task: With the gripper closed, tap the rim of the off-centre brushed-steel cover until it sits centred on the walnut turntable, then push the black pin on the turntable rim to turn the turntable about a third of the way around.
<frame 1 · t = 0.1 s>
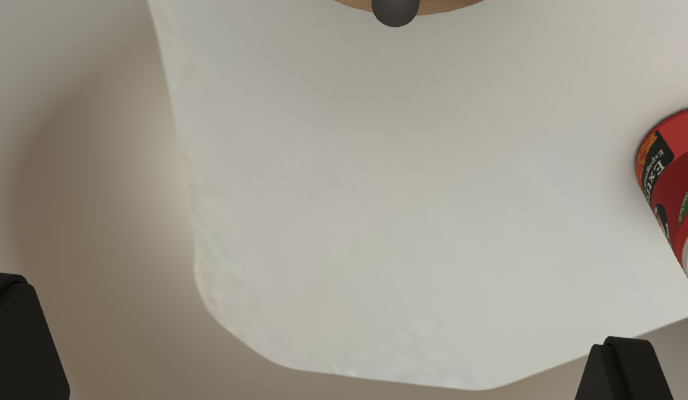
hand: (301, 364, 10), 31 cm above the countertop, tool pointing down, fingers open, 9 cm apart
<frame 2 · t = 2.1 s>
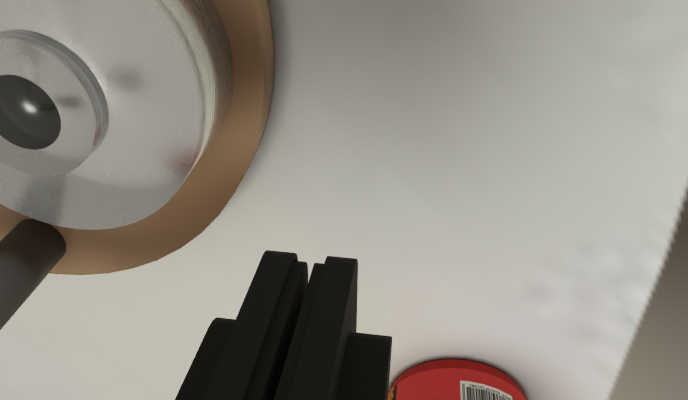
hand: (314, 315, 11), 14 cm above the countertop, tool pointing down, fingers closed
canned food: (455, 399, 34), on the countertop
cover: (101, 55, 22), point 2 cm above the countertop, touching turntable
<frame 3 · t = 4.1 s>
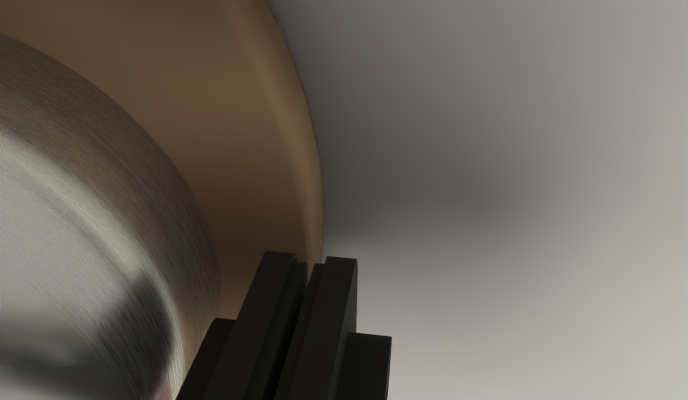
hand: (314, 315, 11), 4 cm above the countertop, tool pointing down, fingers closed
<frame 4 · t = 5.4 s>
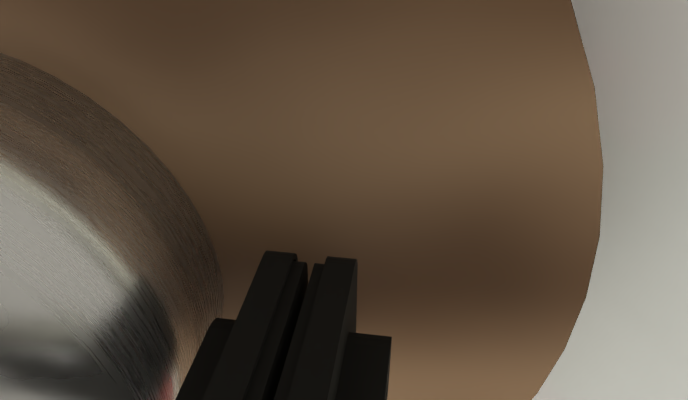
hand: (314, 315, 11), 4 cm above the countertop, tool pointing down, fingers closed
turntable: (5, 286, 11), point 4 cm above the countertop, hinge at -0.6°, touching cover
cover: (3, 258, 13), point 2 cm above the countertop, touching turntable
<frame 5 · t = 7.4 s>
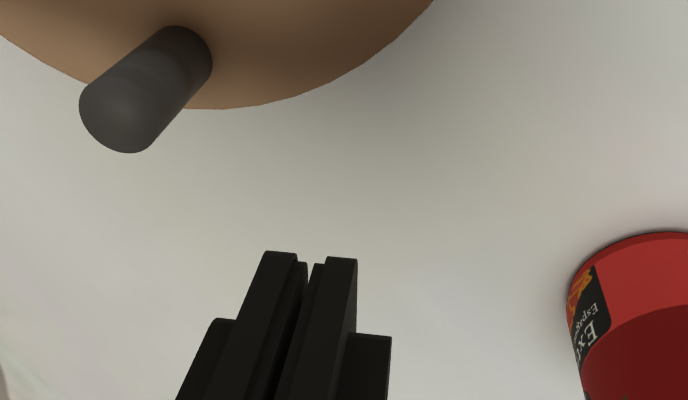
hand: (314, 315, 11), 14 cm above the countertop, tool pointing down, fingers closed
canned food: (652, 290, 28), on the countertop
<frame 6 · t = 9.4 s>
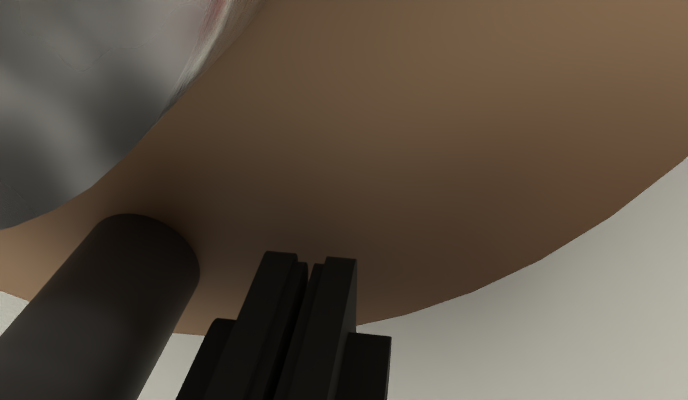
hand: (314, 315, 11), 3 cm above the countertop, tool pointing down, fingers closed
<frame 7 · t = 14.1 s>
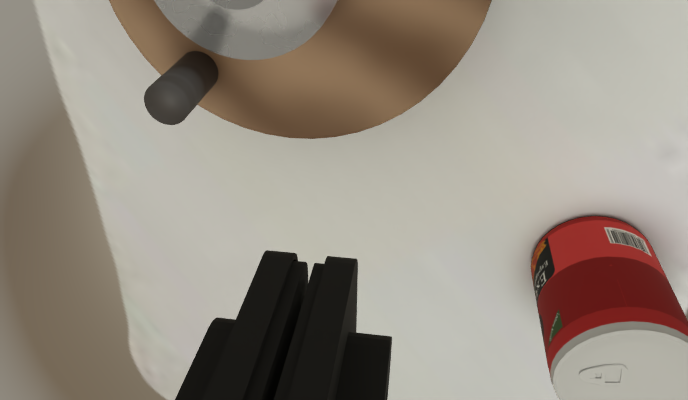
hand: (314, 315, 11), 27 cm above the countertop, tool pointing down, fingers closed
canned food: (588, 256, 42), on the countertop
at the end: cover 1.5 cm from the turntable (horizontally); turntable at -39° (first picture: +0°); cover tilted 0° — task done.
